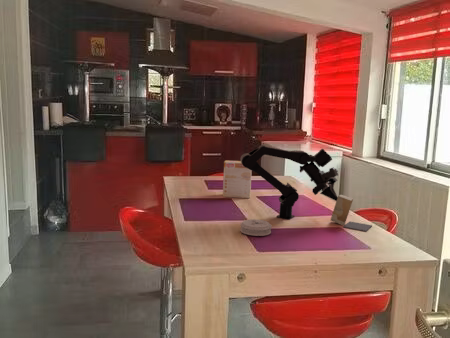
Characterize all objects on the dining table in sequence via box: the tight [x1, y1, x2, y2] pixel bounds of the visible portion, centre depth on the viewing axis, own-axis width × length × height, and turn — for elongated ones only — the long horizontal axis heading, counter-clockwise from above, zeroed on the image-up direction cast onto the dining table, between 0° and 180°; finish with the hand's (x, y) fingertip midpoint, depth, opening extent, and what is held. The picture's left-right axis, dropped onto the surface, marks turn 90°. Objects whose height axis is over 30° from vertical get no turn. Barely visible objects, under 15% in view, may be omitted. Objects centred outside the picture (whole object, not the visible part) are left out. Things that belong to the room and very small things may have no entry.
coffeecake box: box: [222, 159, 253, 199], centre depth 247 cm, size 15×7×20 cm, turn 84°
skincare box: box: [330, 194, 354, 226], centre depth 202 cm, size 6×4×12 cm
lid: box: [240, 218, 272, 237], centre depth 185 cm, size 13×13×5 cm
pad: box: [342, 221, 373, 233], centre depth 199 cm, size 10×10×1 cm
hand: (337, 200), depth 203 cm, fingers closed, pressing on skincare box
